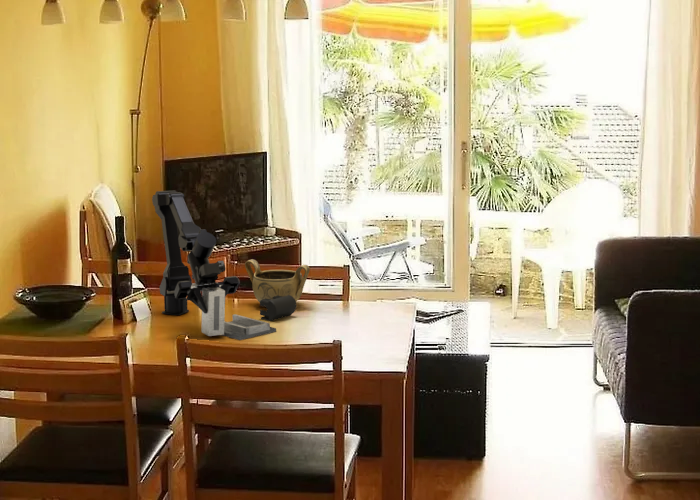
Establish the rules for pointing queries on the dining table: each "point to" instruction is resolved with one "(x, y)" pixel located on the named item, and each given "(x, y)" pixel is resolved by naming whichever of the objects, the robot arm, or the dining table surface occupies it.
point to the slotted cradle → (246, 328)
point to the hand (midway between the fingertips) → (214, 311)
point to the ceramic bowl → (276, 281)
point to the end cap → (277, 307)
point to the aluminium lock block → (213, 311)
